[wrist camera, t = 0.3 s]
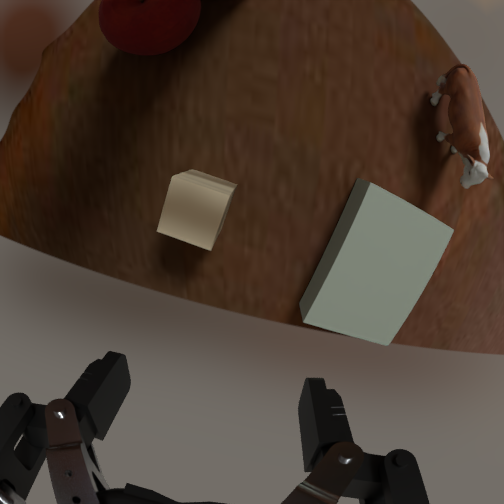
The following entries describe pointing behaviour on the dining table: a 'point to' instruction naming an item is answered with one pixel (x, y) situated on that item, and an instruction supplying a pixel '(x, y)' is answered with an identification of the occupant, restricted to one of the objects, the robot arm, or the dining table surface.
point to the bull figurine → (465, 122)
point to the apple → (148, 24)
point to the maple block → (196, 208)
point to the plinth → (374, 266)
